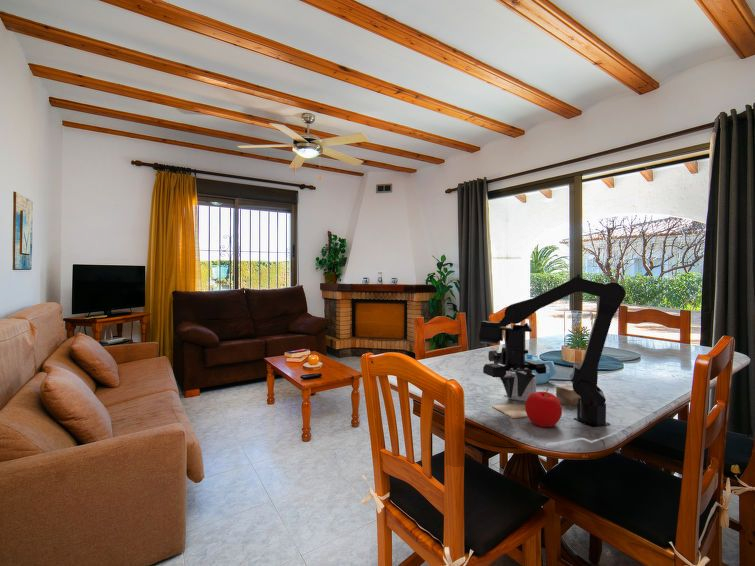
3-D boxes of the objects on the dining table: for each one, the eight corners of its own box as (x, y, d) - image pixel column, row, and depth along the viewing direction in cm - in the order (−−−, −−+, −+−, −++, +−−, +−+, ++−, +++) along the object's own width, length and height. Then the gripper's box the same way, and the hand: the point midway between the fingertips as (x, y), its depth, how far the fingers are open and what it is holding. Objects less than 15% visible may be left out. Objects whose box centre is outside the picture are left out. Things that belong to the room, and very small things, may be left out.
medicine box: (536, 400, 119) (536, 373, 119) (533, 403, 116) (533, 376, 116) (511, 395, 124) (511, 369, 124) (507, 399, 120) (507, 372, 120)
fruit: (550, 434, 93) (550, 395, 93) (518, 422, 101) (518, 386, 100) (568, 426, 99) (569, 388, 99) (537, 415, 106) (537, 381, 106)
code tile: (541, 406, 116) (541, 404, 116) (526, 407, 114) (526, 405, 114) (518, 395, 126) (518, 393, 126) (503, 397, 124) (503, 395, 124)
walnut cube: (580, 404, 116) (580, 388, 116) (570, 406, 114) (570, 390, 113) (566, 399, 120) (566, 384, 120) (556, 401, 118) (556, 386, 118)
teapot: (520, 387, 134) (520, 358, 134) (500, 377, 149) (501, 350, 149) (559, 386, 136) (559, 357, 136) (535, 375, 151) (536, 349, 151)
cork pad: (542, 415, 106) (542, 414, 106) (513, 418, 103) (513, 417, 103) (519, 403, 116) (519, 402, 116) (492, 407, 113) (492, 406, 113)
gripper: (522, 339, 121) (522, 387, 121) (473, 342, 115) (472, 392, 115) (547, 345, 110) (547, 397, 111) (494, 348, 105) (494, 403, 105)
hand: (514, 397), depth 111 cm, fingers open, 3 cm apart
